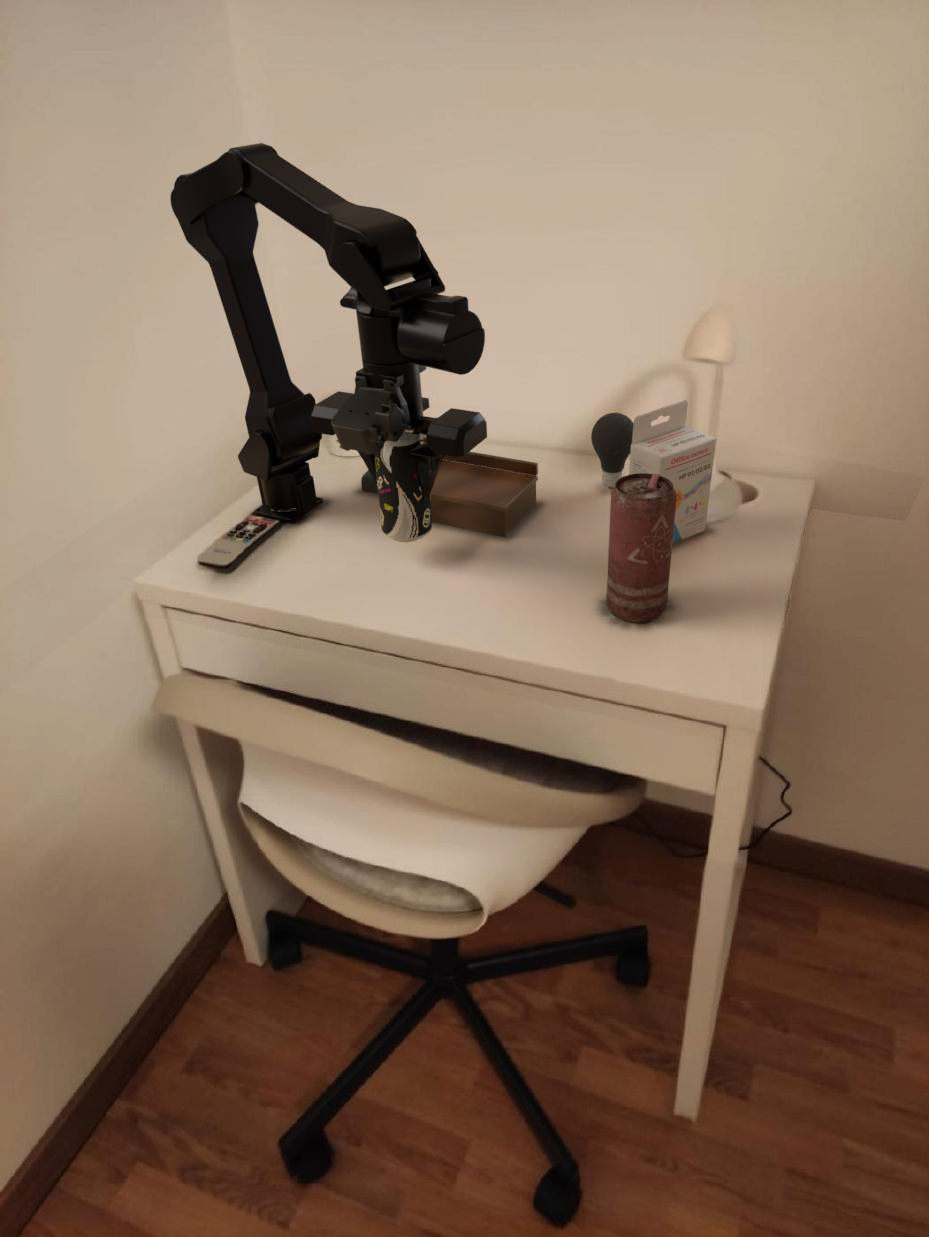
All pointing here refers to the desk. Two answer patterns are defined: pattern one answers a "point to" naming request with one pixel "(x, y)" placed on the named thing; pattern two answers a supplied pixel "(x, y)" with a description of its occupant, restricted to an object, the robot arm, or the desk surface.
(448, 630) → the desk surface
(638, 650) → the desk surface
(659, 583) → the can
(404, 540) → the beverage can
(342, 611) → the desk surface
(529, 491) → the step shelf
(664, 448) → the ink box
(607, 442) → the light bulb
